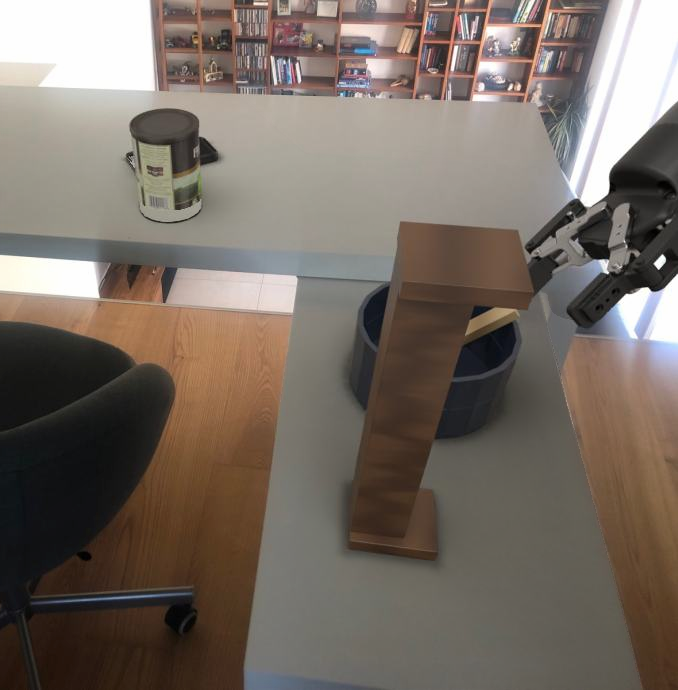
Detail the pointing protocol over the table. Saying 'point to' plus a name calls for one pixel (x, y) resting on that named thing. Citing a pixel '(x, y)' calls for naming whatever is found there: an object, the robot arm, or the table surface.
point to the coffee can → (167, 158)
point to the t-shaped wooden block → (489, 322)
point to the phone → (206, 152)
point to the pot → (469, 376)
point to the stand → (423, 372)
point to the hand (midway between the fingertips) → (541, 309)
